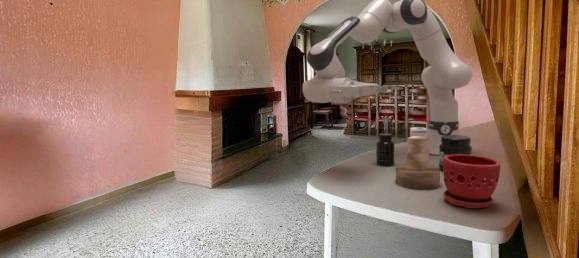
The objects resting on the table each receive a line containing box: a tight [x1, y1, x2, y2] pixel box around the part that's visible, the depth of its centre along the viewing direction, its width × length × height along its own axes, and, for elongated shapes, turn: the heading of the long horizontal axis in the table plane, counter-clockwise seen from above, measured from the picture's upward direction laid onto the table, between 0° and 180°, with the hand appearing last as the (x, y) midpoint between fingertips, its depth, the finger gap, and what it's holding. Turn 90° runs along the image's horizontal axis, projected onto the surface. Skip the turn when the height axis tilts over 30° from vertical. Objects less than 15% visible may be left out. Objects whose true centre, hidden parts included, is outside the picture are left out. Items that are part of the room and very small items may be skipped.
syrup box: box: [409, 126, 429, 137], centre depth 128 cm, size 6×6×14 cm
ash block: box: [406, 136, 430, 171], centre depth 107 cm, size 5×5×10 cm
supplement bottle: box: [375, 132, 395, 167], centre depth 132 cm, size 7×7×12 cm
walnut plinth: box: [395, 163, 441, 191], centre depth 108 cm, size 13×13×5 cm
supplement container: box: [438, 135, 473, 174], centre depth 121 cm, size 10×10×12 cm
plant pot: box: [442, 154, 501, 209], centre depth 89 cm, size 13×13×12 cm
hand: (381, 89), depth 111 cm, fingers open, 8 cm apart
